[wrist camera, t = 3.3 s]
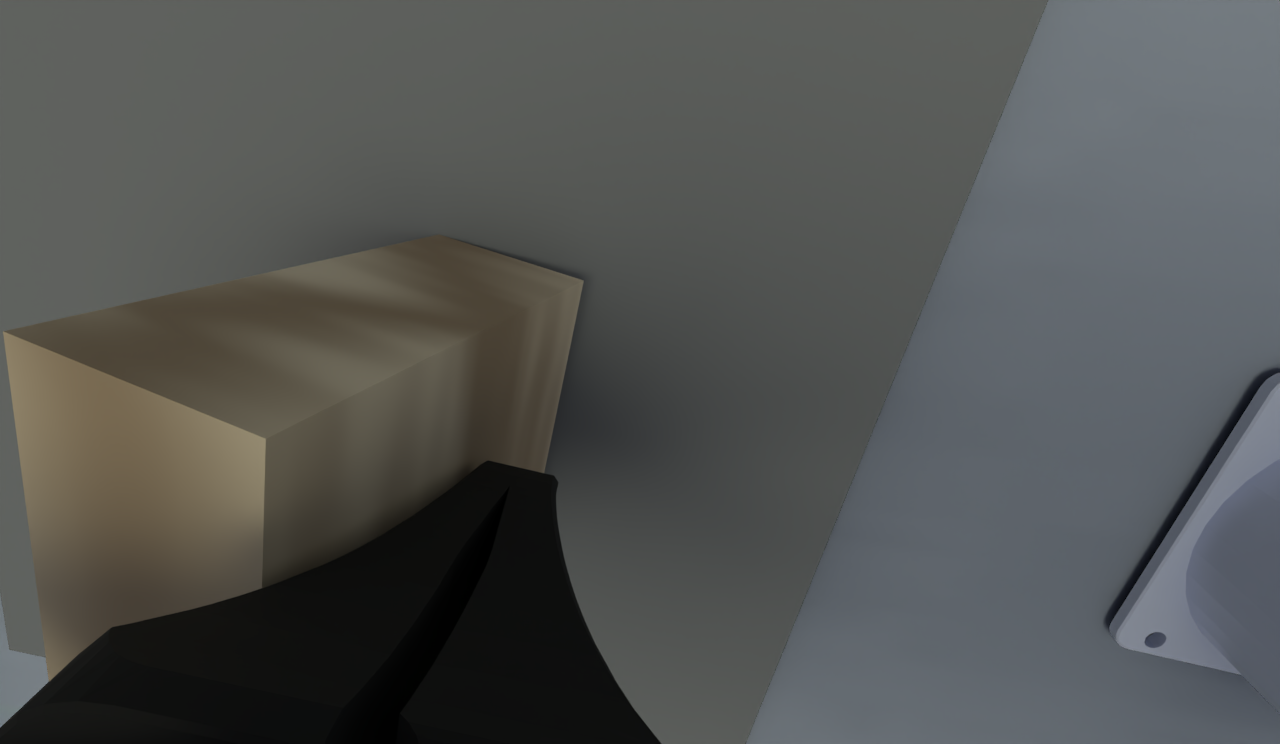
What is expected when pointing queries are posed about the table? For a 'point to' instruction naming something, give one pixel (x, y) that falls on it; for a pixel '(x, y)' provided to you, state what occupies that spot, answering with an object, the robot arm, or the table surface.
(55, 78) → the rubber mat
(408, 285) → the beech block
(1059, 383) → the table surface
